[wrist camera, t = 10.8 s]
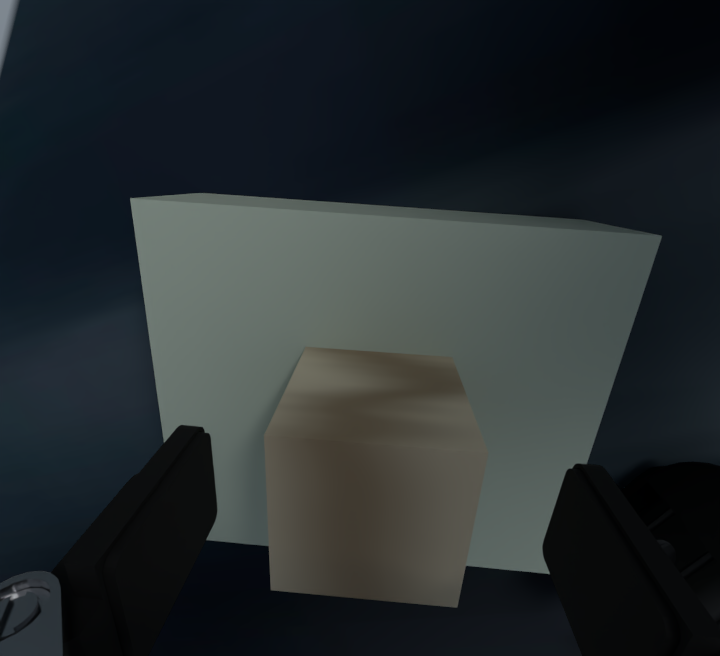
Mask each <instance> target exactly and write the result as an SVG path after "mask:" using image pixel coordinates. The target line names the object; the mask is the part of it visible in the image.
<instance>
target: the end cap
mask: <svg viewBox="0 0 720 656" xmlns="http://www.w3.org/2000/svg"><path fill="white" fill-rule="evenodd" d="M621 492H622V493H623V495H624V496H625V497H626V499H627V500H628V501H629V503H630V504H631V506H632V507H633V508H634V510H635V511H636V513H637V514H638V515H639V517H640V518H641V520H642V521H643V522H644V524H645V525H646V526H647V528H648V529H649V531H650V532H651V533H652V535H653V536H654V538H655V539H656V540H657V542H658V543H659V544H660V546H661V547H662V549H663V550H664V551H665V553H666V554H667V556H668V557H669V558H670V560H671V561H672V562H673V564H674V565H675V567H676V568H677V569H678V571H679V572H680V574H681V575H682V576H683V578H684V579H685V581H686V582H687V583H688V585H689V586H690V587H691V589H692V590H693V592H694V593H695V594H696V596H697V597H698V599H699V600H700V601H701V603H702V604H703V605H704V607H705V608H706V610H707V611H708V612H709V614H710V615H711V617H712V618H713V619H714V621H715V622H716V623H717V625H718V626H719V628H720V466H717V465H714V464H710V463H702V462H683V463H676V464H672V465H668V466H662V467H654V468H652V469H650V470H648V471H646V472H644V473H642V474H641V475H639V476H638V477H637V478H636V479H635V480H633V481H632V482H631V483H630V484H629V485H627V486H626V487H625V488H624V489H623V490H621Z"/></svg>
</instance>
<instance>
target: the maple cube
mask: <svg viewBox="0 0 720 656" xmlns="http://www.w3.org/2000/svg"><path fill="white" fill-rule="evenodd" d="M264 448H265V471H266V493H267V516H268V539H269V561H270V584H271V590H274V591H285V592H295V593H306V594H317V595H328V596H338V597H349V598H360V599H370V600H381V601H392V602H402V603H413V604H424V605H435V606H445V607H456V608H457V606H458V601H459V596H460V591H461V586H462V581H463V577H464V572H465V567H466V562H467V557H468V552H469V547H470V542H471V537H472V532H473V527H474V522H475V517H476V512H477V507H478V502H479V497H480V493H481V488H482V483H483V478H484V473H485V468H486V463H487V458H488V450H487V448H486V445H485V442H484V440H483V437H482V434H481V432H480V429H479V426H478V424H477V421H476V419H475V416H474V413H473V411H472V408H471V405H470V403H469V400H468V397H467V395H466V392H465V389H464V387H463V384H462V382H461V379H460V376H459V374H458V371H457V368H456V366H455V363H454V360H453V358H452V357H445V356H430V355H416V354H402V353H387V352H373V351H359V350H344V349H330V348H316V347H305V349H304V351H303V354H302V356H301V358H300V360H299V362H298V364H297V366H296V368H295V370H294V373H293V375H292V377H291V379H290V381H289V383H288V385H287V387H286V390H285V392H284V394H283V396H282V398H281V400H280V402H279V404H278V407H277V409H276V411H275V413H274V415H273V417H272V419H271V421H270V423H269V426H268V428H267V430H266V432H265V434H264Z"/></svg>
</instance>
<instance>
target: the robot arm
mask: <svg viewBox="0 0 720 656" xmlns="http://www.w3.org/2000/svg"><path fill="white" fill-rule="evenodd" d="M217 511H218V510H217V497H216V487H215V477H214V466H213V456H212V446H211V437H210V434H209V433H205V430H204V428H203V427H199V426H189V425H180V426H178V427H177V428H176V429H175V431H174V432H173V433H172V434H171V435H170V437H169V438H168V439H167V440H166V441H165V443H164V444H163V445H162V446H161V447H160V449H159V450H158V451H157V452H156V453H155V455H154V456H153V457H152V458H151V459H150V461H149V462H148V463H147V464H146V465H145V467H144V468H143V469H142V470H141V471H140V473H138V474H136V475H134V476H133V477H132V478H131V479H130V480H129V481H128V482H127V483H126V484H125V486H124V487H123V488H122V489H121V490H120V491H119V493H118V494H117V495H116V496H115V497H114V499H113V500H112V501H111V502H110V503H109V504H108V506H107V507H106V508H105V509H104V510H103V512H102V513H101V514H100V515H99V516H98V517H97V519H96V520H95V521H94V522H93V523H92V524H91V526H90V527H89V528H88V529H87V530H86V532H85V533H84V534H83V535H82V536H81V537H80V539H79V540H78V541H77V542H76V543H75V545H74V546H73V547H72V548H71V549H70V550H69V552H68V553H67V554H66V555H65V556H64V558H63V559H62V560H61V561H60V562H59V563H58V565H57V566H56V567H55V568H54V569H53V571H52V572H51V573H48V572H44V571H35V572H27V573H24V574H21V575H18V576H14V577H12V578H10V579H8V580H6V581H4V582H2V583H0V656H148V655H149V653H150V651H151V649H152V647H153V645H154V643H155V641H156V639H157V637H158V635H159V633H160V631H161V629H162V627H163V625H164V623H165V621H166V619H167V617H168V615H169V613H170V611H171V609H172V607H173V605H174V603H175V601H176V599H177V597H178V595H179V593H180V591H181V589H182V587H183V585H184V583H185V581H186V579H187V577H188V575H189V573H190V571H191V569H192V567H193V565H194V563H195V561H196V559H197V557H198V555H199V553H200V551H201V549H202V547H203V545H204V543H205V541H206V539H207V537H208V535H209V533H210V531H211V529H212V527H213V525H214V523H215V520H216V517H217ZM542 551H543V557H544V560H545V563H546V565H547V568H548V570H549V573H550V575H551V578H552V580H553V583H554V585H555V588H556V590H557V593H558V595H559V598H560V601H561V603H562V606H563V608H564V611H565V613H566V616H567V618H568V621H569V623H570V626H571V628H572V631H573V633H574V636H575V638H576V641H577V643H578V646H579V648H580V651H581V654H582V656H720V628H719V626H718V625H717V623H716V622H715V621H714V619H713V618H712V617H711V615H710V614H709V612H708V611H707V610H706V608H705V607H704V605H703V604H702V603H701V601H700V600H699V599H698V597H697V596H696V594H695V593H694V592H693V590H692V589H691V587H690V586H689V585H688V583H687V582H686V581H685V579H684V578H683V576H682V575H681V574H680V572H679V571H678V569H677V568H676V567H675V565H674V564H673V562H672V561H671V560H670V558H669V557H668V556H667V554H666V553H665V551H664V550H663V549H662V547H661V546H660V544H659V543H658V542H657V540H656V539H655V538H654V536H653V535H652V533H651V532H650V531H649V529H648V528H647V526H646V525H645V524H644V522H643V521H642V520H641V518H640V517H639V515H638V514H637V513H636V511H635V510H634V508H633V507H632V506H631V504H630V503H629V501H628V500H627V499H626V497H625V496H624V495H623V493H622V492H621V490H620V489H619V488H618V486H617V485H616V483H615V482H614V481H613V479H612V478H611V477H610V475H609V474H608V472H607V471H606V470H605V469H604V468H603V467H602V466H600V465H591V464H581V463H577V464H575V465H574V466H573V468H572V469H571V468H569V469H568V470H567V471H566V473H565V476H564V479H563V482H562V485H561V488H560V492H559V495H558V498H557V501H556V504H555V507H554V510H553V513H552V516H551V519H550V522H549V525H548V528H547V532H546V535H545V538H544V541H543V545H542Z"/></svg>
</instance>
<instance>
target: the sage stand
mask: <svg viewBox="0 0 720 656" xmlns="http://www.w3.org/2000/svg"><path fill="white" fill-rule="evenodd" d="M130 201H131V208H132V215H133V222H134V230H135V237H136V244H137V251H138V259H139V266H140V273H141V280H142V287H143V295H144V302H145V309H146V316H147V324H148V331H149V338H150V345H151V353H152V360H153V367H154V374H155V382H156V389H157V396H158V403H159V410H160V418H161V425H162V432H163V439H164V443H165V441H166V440H167V439H168V438H169V437H170V435H171V434H172V433H173V432H174V431H175V429H176V428H177V427H178V426H180V425H189V426H199V427H203V428H204V430H205V433H209V434H210V437H211V446H212V456H213V466H214V477H215V487H216V497H217V510H218V511H217V517H216V520H215V523H214V525H213V527H212V529H211V531H210V533H209V535H208V537H207V539H206V540H211V541H222V542H232V543H242V544H252V545H262V546H269V539H268V516H267V493H266V471H265V448H264V434H265V432H266V430H267V428H268V426H269V423H270V421H271V419H272V417H273V415H274V413H275V411H276V409H277V407H278V404H279V402H280V400H281V398H282V396H283V394H284V392H285V390H286V387H287V385H288V383H289V381H290V379H291V377H292V375H293V373H294V370H295V368H296V366H297V364H298V362H299V360H300V358H301V356H302V354H303V351H304V349H305V347H316V348H330V349H344V350H359V351H373V352H387V353H402V354H416V355H430V356H445V357H452V358H453V360H454V363H455V366H456V368H457V371H458V374H459V376H460V379H461V382H462V384H463V387H464V389H465V392H466V395H467V397H468V400H469V403H470V405H471V408H472V411H473V413H474V416H475V419H476V421H477V424H478V426H479V429H480V432H481V434H482V437H483V440H484V442H485V445H486V448H487V450H488V458H487V463H486V468H485V473H484V478H483V483H482V488H481V493H480V497H479V502H478V507H477V512H476V517H475V522H474V527H473V532H472V537H471V542H470V547H469V552H468V557H467V562H466V566H475V567H485V568H495V569H505V570H515V571H525V572H535V573H545V574H550V573H549V570H548V568H547V565H546V563H545V560H544V557H543V551H542V545H543V541H544V538H545V535H546V532H547V528H548V525H549V522H550V519H551V516H552V513H553V510H554V507H555V504H556V501H557V498H558V495H559V492H560V488H561V485H562V482H563V479H564V476H565V473H566V471H567V470H568V469H569V468H571V469H572V468H573V466H574V465H575V464H577V463H581V464H587V462H588V459H589V456H590V453H591V450H592V447H593V444H594V440H595V437H596V434H597V431H598V428H599V425H600V422H601V419H602V416H603V413H604V410H605V407H606V404H607V401H608V398H609V395H610V392H611V389H612V386H613V383H614V380H615V377H616V374H617V371H618V368H619V365H620V362H621V359H622V356H623V353H624V350H625V347H626V344H627V341H628V338H629V335H630V332H631V329H632V326H633V323H634V320H635V317H636V314H637V311H638V308H639V305H640V302H641V298H642V295H643V292H644V289H645V286H646V283H647V280H648V277H649V274H650V271H651V268H652V265H653V262H654V259H655V256H656V253H657V250H658V247H659V244H660V241H661V238H662V236H661V235H656V234H651V233H646V232H641V231H636V230H631V229H626V228H621V227H617V226H612V225H607V224H602V223H597V222H592V221H587V220H582V219H567V218H553V217H539V216H524V215H510V214H496V213H481V212H467V211H452V210H438V209H424V208H409V207H395V206H381V205H366V204H352V203H337V202H323V201H309V200H294V199H280V198H266V197H251V196H237V195H222V194H208V193H195V194H181V195H168V196H155V197H142V198H130Z"/></svg>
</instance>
